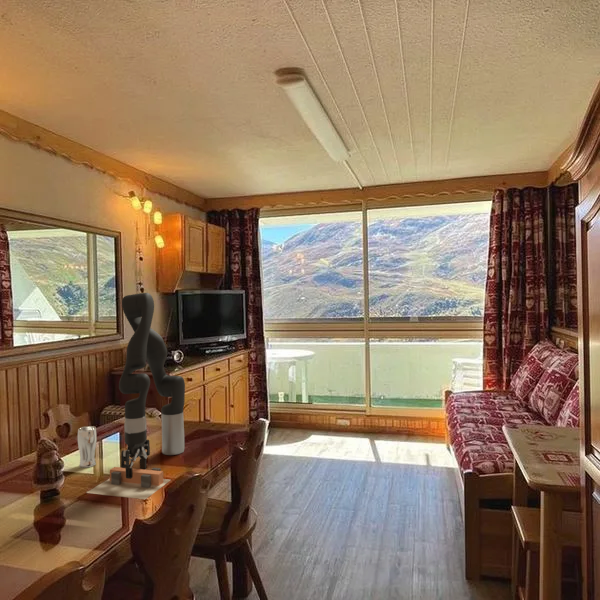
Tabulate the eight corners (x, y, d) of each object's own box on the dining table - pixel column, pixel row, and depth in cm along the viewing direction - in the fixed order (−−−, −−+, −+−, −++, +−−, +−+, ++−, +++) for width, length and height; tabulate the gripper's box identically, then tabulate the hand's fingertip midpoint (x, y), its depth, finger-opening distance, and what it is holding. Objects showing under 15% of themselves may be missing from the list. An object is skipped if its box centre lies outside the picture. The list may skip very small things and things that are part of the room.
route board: (116, 477, 178) (115, 463, 177) (171, 483, 172) (171, 468, 172) (85, 496, 161) (85, 481, 161) (145, 502, 156) (145, 487, 156)
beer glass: (76, 469, 187) (75, 431, 186) (79, 463, 193) (79, 426, 193) (95, 467, 188) (94, 430, 188) (98, 461, 195) (97, 425, 195)
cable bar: (115, 477, 174) (114, 466, 174) (163, 482, 170) (163, 471, 169) (109, 480, 172) (109, 469, 172) (158, 485, 167) (158, 474, 167)
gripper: (137, 423, 178) (138, 465, 178) (114, 434, 164) (114, 480, 165) (155, 424, 176) (156, 467, 176) (133, 435, 162) (133, 482, 163)
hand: (136, 473), depth 170 cm, fingers open, 8 cm apart
